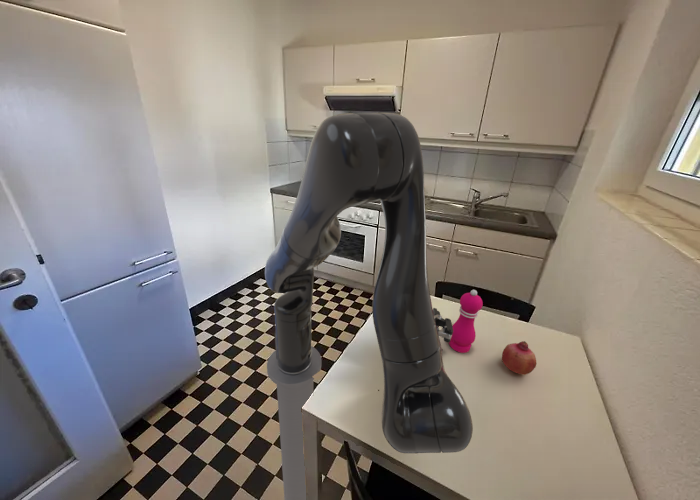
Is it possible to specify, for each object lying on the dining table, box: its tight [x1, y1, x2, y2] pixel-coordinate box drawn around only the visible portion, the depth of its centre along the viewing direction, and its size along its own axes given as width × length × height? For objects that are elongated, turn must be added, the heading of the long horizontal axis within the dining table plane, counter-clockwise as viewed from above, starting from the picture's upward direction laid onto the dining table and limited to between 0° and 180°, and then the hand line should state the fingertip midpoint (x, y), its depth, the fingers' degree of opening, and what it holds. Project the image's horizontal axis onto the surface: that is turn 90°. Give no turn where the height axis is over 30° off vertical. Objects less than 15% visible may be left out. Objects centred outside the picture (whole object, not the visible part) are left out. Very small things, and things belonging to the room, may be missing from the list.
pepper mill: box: [448, 289, 484, 354], centre depth 82 cm, size 7×7×20 cm
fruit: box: [501, 340, 537, 376], centre depth 76 cm, size 8×8×10 cm
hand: (415, 306), depth 65 cm, fingers open, 8 cm apart
